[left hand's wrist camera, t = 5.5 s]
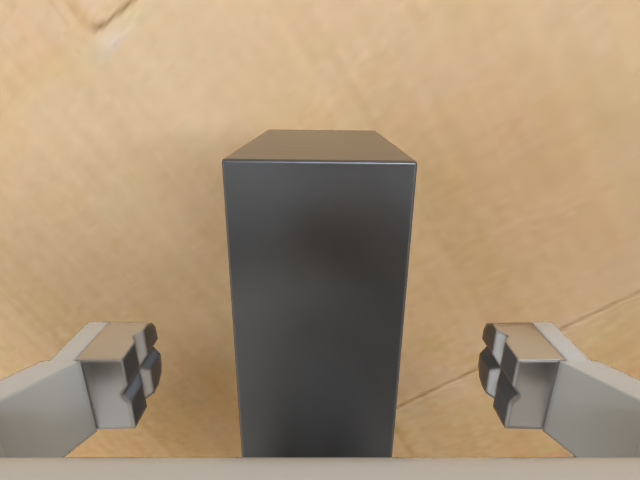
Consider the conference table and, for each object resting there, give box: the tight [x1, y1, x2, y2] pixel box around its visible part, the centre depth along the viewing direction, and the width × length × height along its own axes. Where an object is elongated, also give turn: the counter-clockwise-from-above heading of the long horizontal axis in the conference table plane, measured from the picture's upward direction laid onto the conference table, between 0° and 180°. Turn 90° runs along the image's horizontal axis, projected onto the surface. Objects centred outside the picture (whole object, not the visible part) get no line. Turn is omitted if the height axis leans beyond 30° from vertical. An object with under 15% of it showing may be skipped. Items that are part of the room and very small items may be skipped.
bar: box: [222, 130, 417, 457], centre depth 20 cm, size 28×5×9 cm, turn 0°
